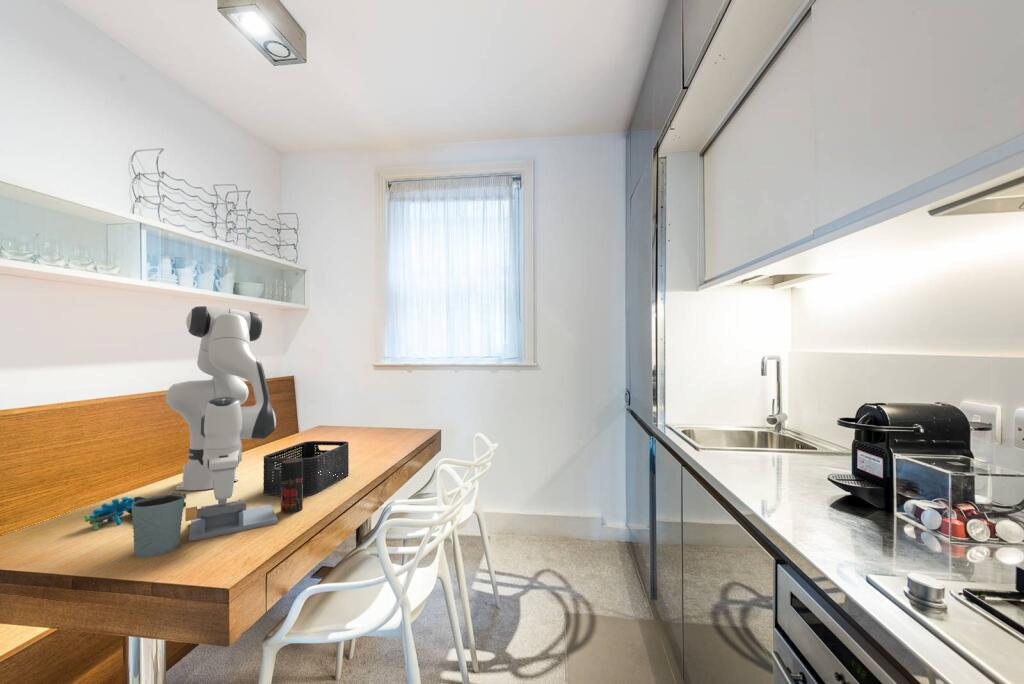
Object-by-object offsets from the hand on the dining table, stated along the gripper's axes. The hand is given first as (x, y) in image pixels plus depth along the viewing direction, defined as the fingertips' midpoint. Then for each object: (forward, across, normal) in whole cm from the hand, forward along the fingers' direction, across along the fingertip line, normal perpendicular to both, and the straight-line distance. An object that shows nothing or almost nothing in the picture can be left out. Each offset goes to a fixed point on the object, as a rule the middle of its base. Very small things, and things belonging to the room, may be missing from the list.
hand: (222, 507), depth 119 cm
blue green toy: (+6, -24, -26) cm, 36 cm away
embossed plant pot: (+6, +6, -13) cm, 16 cm away
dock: (+6, -2, +3) cm, 7 cm away
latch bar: (+1, +3, -1) cm, 3 cm away
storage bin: (+6, -32, +28) cm, 43 cm away
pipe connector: (+6, -26, -15) cm, 31 cm away
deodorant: (+6, -4, +18) cm, 19 cm away
